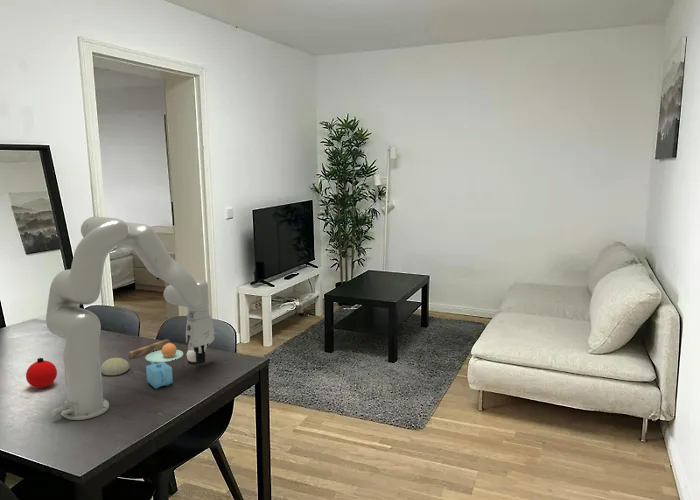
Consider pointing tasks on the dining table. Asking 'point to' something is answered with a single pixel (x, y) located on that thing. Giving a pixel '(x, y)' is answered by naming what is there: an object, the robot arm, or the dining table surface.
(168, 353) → the orange ball
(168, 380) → the blue fidget cube
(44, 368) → the ornament
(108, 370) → the sea urchin shell
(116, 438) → the dining table surface
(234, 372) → the dining table surface
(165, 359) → the mint mark
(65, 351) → the robot arm
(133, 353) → the walnut rail
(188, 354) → the cue ball
